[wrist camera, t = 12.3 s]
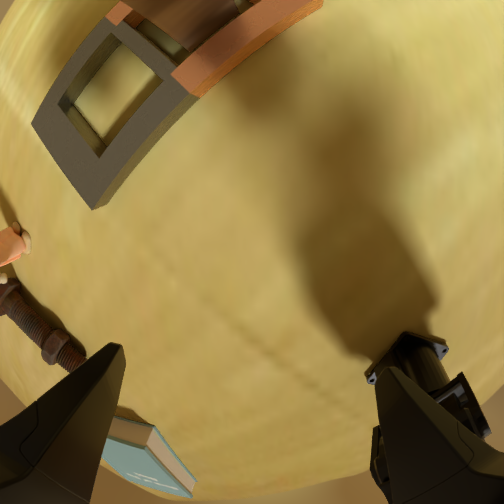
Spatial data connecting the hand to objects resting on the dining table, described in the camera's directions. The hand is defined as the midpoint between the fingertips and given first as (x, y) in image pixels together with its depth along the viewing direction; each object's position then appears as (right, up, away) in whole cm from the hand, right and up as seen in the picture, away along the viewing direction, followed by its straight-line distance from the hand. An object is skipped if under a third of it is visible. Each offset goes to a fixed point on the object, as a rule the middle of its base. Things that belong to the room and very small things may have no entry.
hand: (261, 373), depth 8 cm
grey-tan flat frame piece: (-7, +18, +7) cm, 21 cm away
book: (-20, -31, +29) cm, 48 cm away
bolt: (-26, -5, +19) cm, 33 cm away
